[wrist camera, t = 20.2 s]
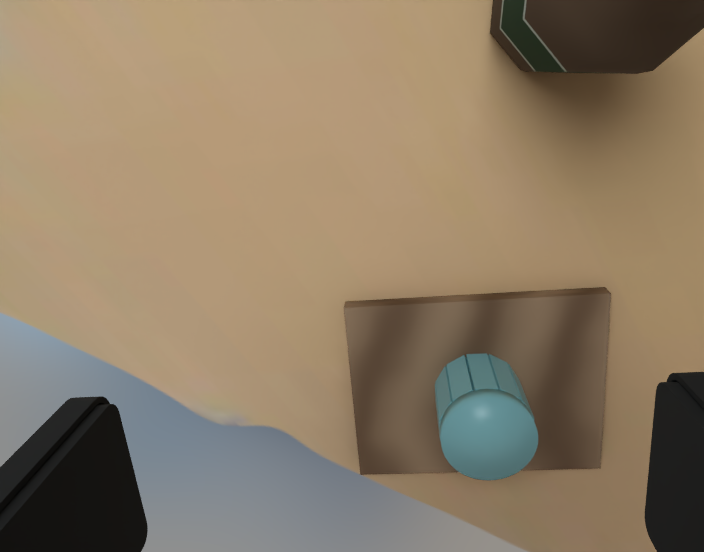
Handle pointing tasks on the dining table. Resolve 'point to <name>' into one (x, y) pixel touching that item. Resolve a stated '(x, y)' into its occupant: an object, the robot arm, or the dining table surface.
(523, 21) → the beer bottle
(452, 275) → the dining table surface
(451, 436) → the cap
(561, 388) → the post board
